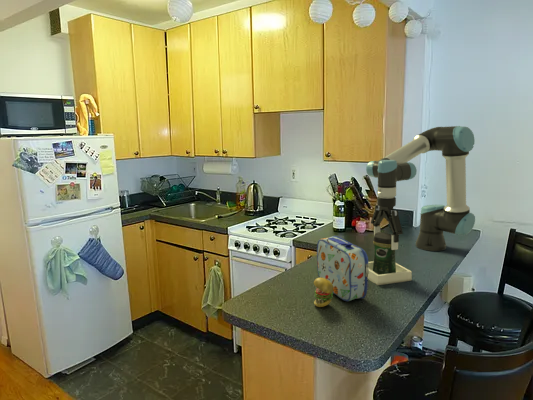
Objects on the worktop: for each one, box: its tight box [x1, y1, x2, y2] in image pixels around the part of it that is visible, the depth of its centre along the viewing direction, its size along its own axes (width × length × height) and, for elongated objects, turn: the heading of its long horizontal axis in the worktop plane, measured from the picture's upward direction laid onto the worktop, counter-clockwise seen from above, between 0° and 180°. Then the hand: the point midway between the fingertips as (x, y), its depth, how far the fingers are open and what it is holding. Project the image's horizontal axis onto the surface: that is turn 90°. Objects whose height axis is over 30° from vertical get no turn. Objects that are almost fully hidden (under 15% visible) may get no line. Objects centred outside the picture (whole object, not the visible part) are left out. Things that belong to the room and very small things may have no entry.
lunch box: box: [316, 235, 370, 302], centre depth 150 cm, size 28×10×22 cm, turn 22°
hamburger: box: [313, 277, 334, 308], centre depth 139 cm, size 8×7×12 cm
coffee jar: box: [372, 231, 397, 275], centre depth 165 cm, size 10×8×19 cm
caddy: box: [367, 260, 413, 286], centre depth 167 cm, size 16×16×4 cm
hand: (385, 244), depth 165 cm, fingers open, 13 cm apart
